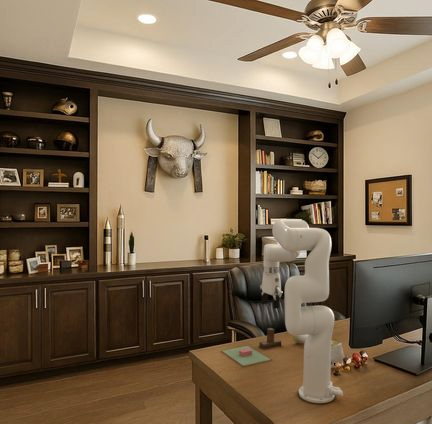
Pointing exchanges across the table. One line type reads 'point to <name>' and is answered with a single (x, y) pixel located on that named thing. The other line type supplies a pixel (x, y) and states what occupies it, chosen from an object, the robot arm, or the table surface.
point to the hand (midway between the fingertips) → (270, 305)
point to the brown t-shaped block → (270, 340)
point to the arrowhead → (337, 355)
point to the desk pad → (246, 360)
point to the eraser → (245, 352)
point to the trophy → (303, 337)
